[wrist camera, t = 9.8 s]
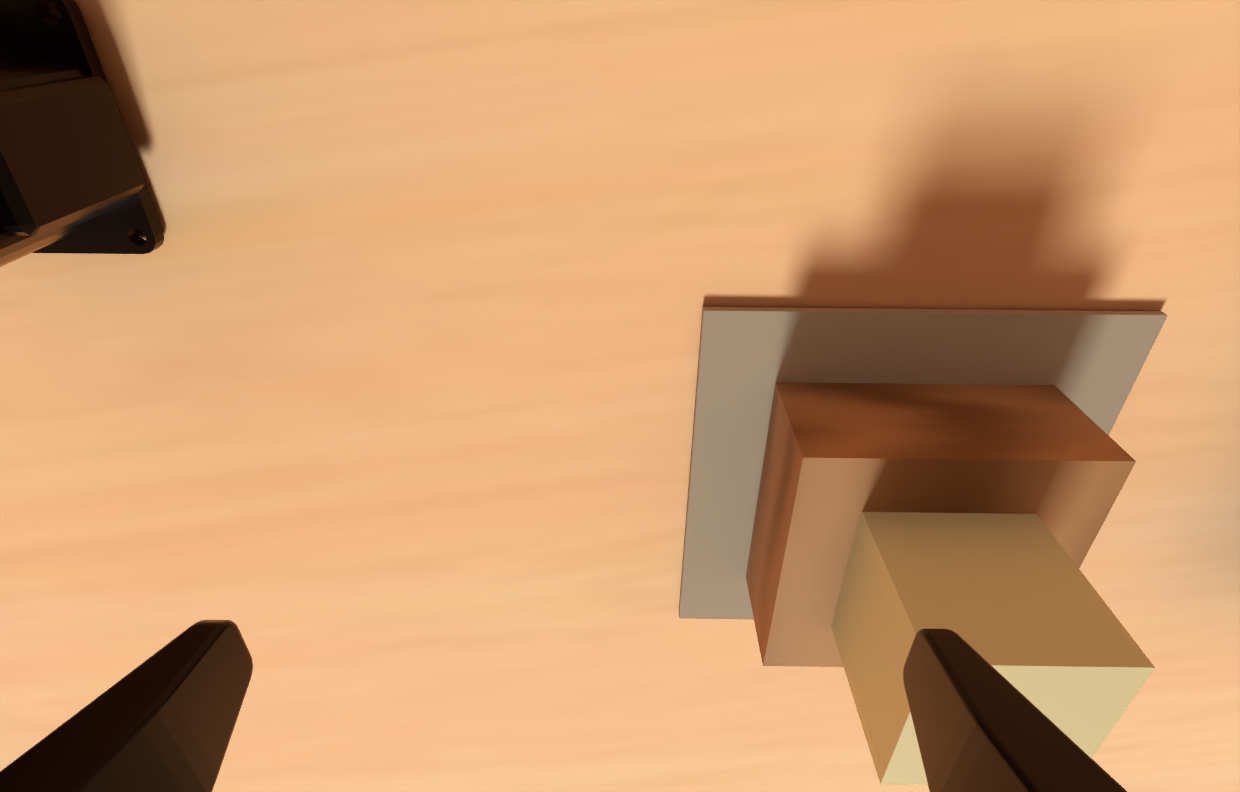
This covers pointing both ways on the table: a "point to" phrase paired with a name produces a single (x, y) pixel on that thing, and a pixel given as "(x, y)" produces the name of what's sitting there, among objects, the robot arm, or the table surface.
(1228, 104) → the table surface
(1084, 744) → the cube
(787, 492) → the plinth
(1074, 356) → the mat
